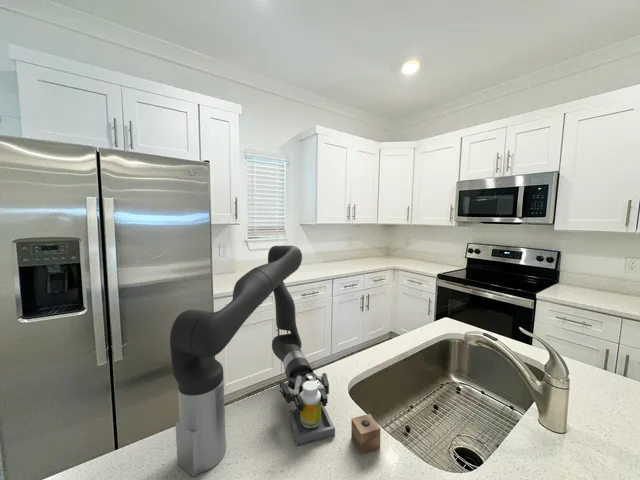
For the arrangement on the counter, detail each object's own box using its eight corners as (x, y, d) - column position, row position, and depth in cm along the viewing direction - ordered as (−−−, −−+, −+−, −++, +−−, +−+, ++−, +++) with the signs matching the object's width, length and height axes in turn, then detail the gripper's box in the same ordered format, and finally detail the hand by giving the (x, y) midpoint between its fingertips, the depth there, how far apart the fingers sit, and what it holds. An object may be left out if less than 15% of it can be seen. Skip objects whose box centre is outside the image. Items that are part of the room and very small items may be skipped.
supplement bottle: (318, 430, 66) (318, 393, 65) (297, 427, 67) (297, 390, 66) (323, 414, 72) (322, 380, 71) (303, 411, 73) (303, 377, 72)
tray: (297, 446, 63) (297, 438, 63) (288, 417, 72) (288, 410, 72) (335, 435, 66) (335, 427, 66) (322, 409, 75) (322, 402, 75)
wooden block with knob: (360, 454, 61) (361, 433, 61) (351, 437, 66) (351, 418, 65) (380, 448, 63) (380, 428, 62) (369, 432, 67) (369, 413, 67)
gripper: (273, 360, 80) (284, 397, 64) (319, 353, 84) (340, 385, 68) (274, 384, 80) (285, 427, 64) (319, 375, 85) (340, 413, 69)
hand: (313, 405), depth 66 cm, fingers closed on supplement bottle, 5 cm apart
